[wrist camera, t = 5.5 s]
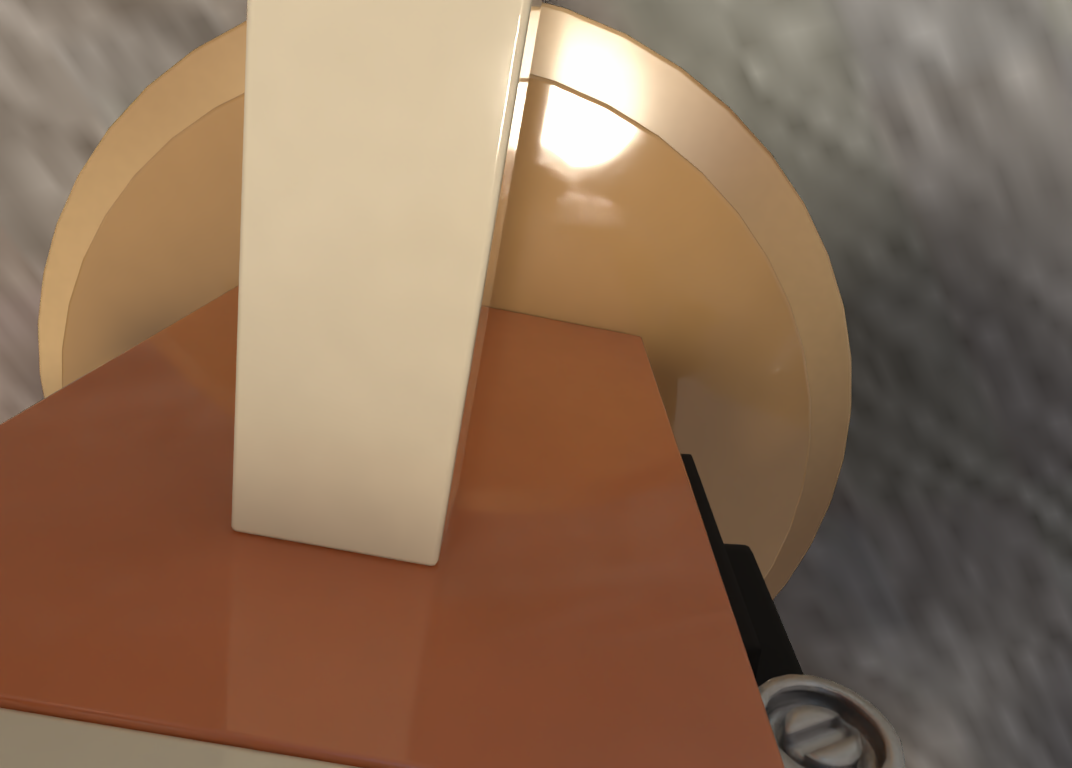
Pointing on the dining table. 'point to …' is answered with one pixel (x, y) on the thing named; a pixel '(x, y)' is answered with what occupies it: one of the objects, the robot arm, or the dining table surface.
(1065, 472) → the dining table surface
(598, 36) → the turntable base
